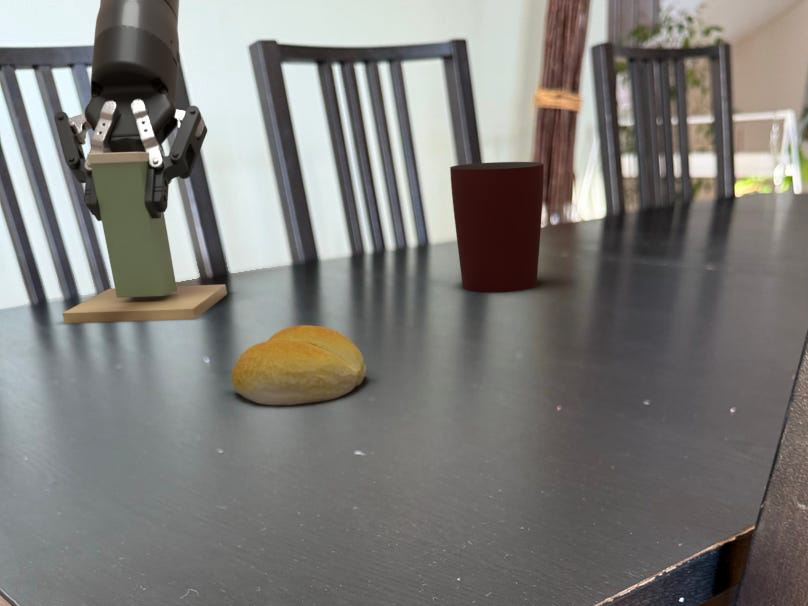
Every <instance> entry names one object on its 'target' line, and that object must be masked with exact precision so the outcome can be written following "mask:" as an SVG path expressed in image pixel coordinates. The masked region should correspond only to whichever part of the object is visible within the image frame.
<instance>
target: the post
mask: <svg viewBox="0 0 808 606" xmlns="http://www.w3.org/2000/svg"><path fill="white" fill-rule="evenodd" d="M87 156H88V161H89V164H91V169H92V174H93V179H94V184H95V189H96V194H97V199H98V204H99V209H100V215H101V220H102V221H101V224H102V225H101V226H102V230H103V235H104V240H105V244H106V250H107V254H108V259H109V266H110V270H111V275H112V280H113V285H114V288H115V290H116V296H117V298H122V297H150V296H164V295H167V294H169V293H172V292H174V291H177V287H176V286H177V282H176V275H175V271H174V265H173V259H172V253H171V248H170V247H171V246H170V241H169V235H168V230H167V224H166V218H165V212H161V218H158V219H152V217H151V216H150V214H149V212H148V211H147V209H146V207H145V191H146V177H147V169H150V167H151V166H150V164H149V160H148V159H149V152H120V153H95V154H89V153H87V155H86V157H87Z"/></svg>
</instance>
